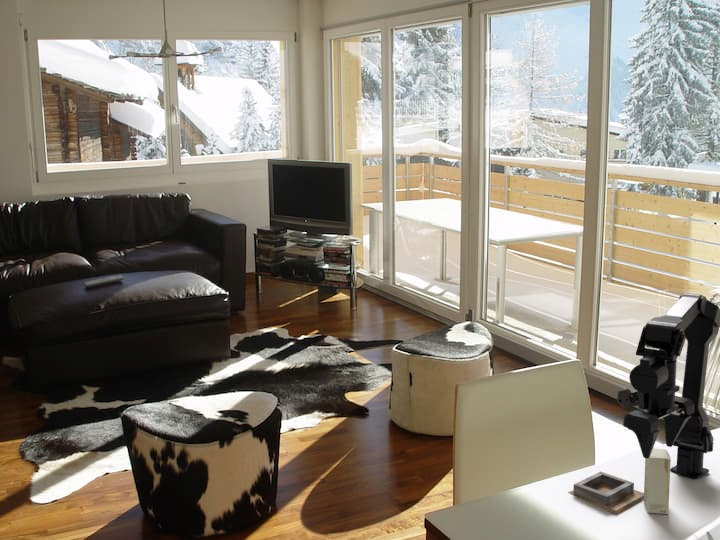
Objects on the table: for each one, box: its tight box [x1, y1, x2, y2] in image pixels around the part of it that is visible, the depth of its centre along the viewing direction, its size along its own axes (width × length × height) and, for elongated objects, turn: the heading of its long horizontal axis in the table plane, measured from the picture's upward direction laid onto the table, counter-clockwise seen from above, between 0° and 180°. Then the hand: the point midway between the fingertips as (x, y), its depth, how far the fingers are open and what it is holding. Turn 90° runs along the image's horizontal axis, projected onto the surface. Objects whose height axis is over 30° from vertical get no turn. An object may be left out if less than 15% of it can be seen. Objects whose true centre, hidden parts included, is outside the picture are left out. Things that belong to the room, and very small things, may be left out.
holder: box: [567, 471, 644, 515], centre depth 180 cm, size 12×12×3 cm
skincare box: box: [643, 447, 671, 515], centre depth 173 cm, size 6×4×12 cm
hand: (657, 452), depth 172 cm, fingers open, 9 cm apart
